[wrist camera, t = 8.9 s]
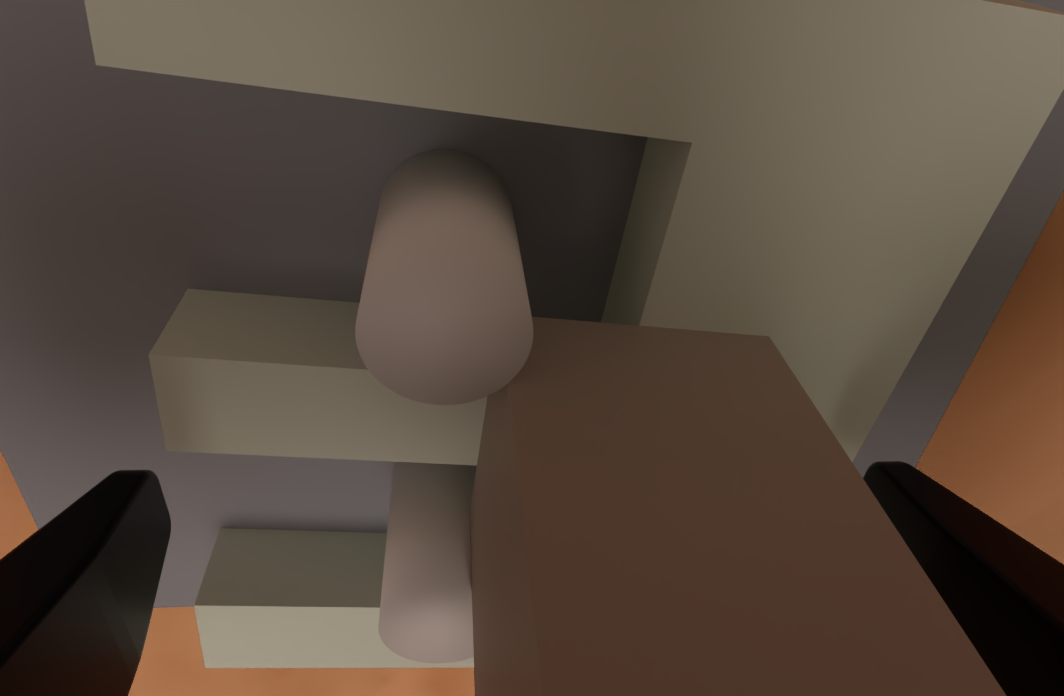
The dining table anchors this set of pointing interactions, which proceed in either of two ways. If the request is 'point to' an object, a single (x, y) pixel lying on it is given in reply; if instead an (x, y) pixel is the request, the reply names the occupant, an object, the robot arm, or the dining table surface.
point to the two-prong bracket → (632, 336)
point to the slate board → (336, 288)
